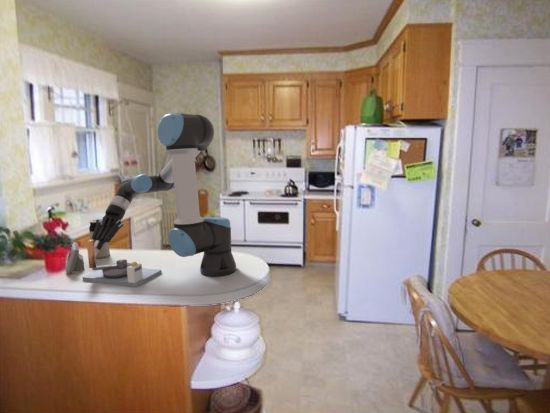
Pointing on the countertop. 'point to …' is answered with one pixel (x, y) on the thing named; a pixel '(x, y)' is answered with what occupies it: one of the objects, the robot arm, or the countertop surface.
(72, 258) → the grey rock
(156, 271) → the stand
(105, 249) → the travel mug
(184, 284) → the countertop surface
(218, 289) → the countertop surface
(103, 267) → the crank
